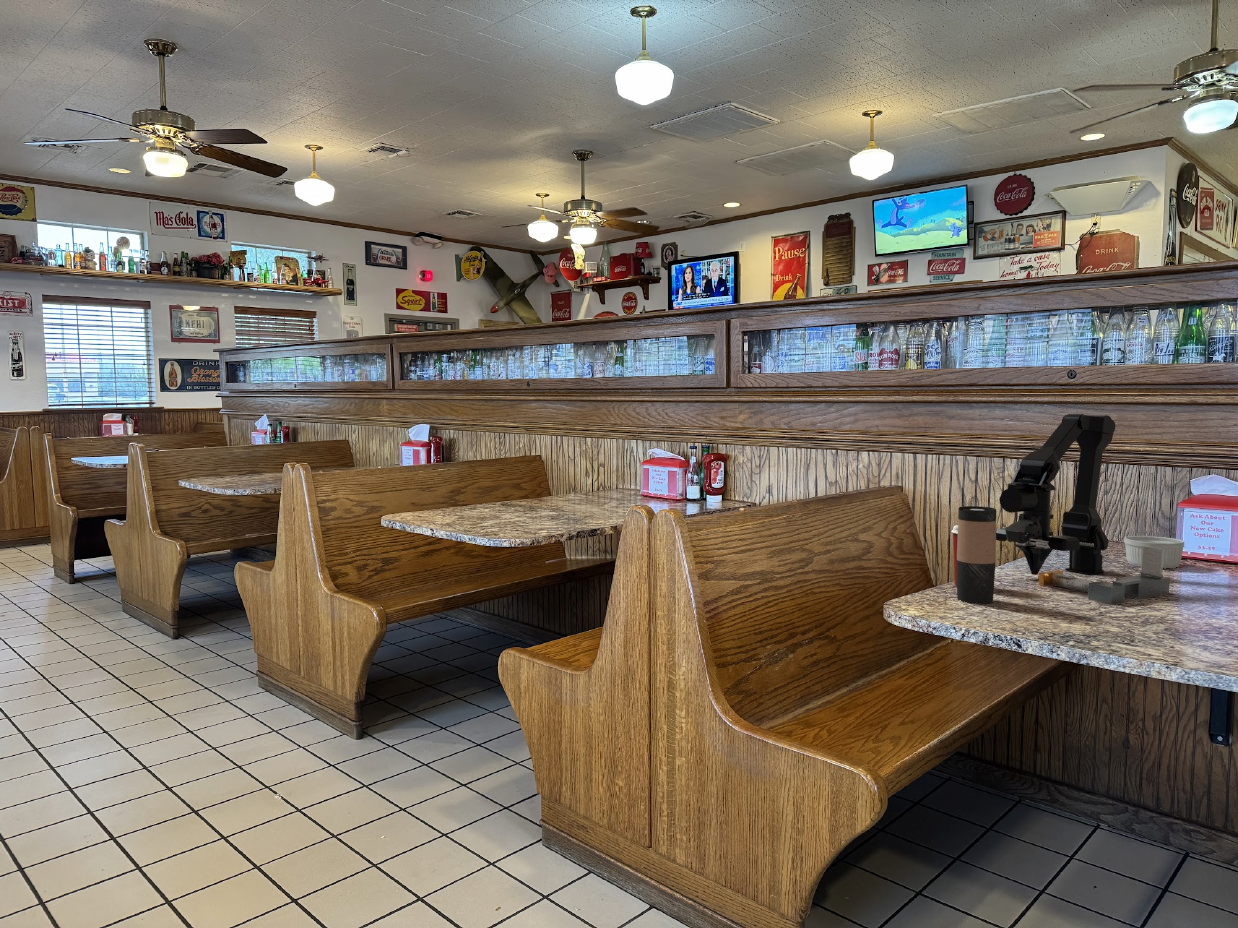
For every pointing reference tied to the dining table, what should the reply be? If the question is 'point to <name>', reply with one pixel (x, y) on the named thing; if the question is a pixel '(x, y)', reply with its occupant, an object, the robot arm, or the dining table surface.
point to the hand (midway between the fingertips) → (1034, 574)
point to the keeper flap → (1152, 562)
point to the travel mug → (976, 554)
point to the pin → (1063, 581)
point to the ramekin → (1169, 545)
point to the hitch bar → (1128, 588)
